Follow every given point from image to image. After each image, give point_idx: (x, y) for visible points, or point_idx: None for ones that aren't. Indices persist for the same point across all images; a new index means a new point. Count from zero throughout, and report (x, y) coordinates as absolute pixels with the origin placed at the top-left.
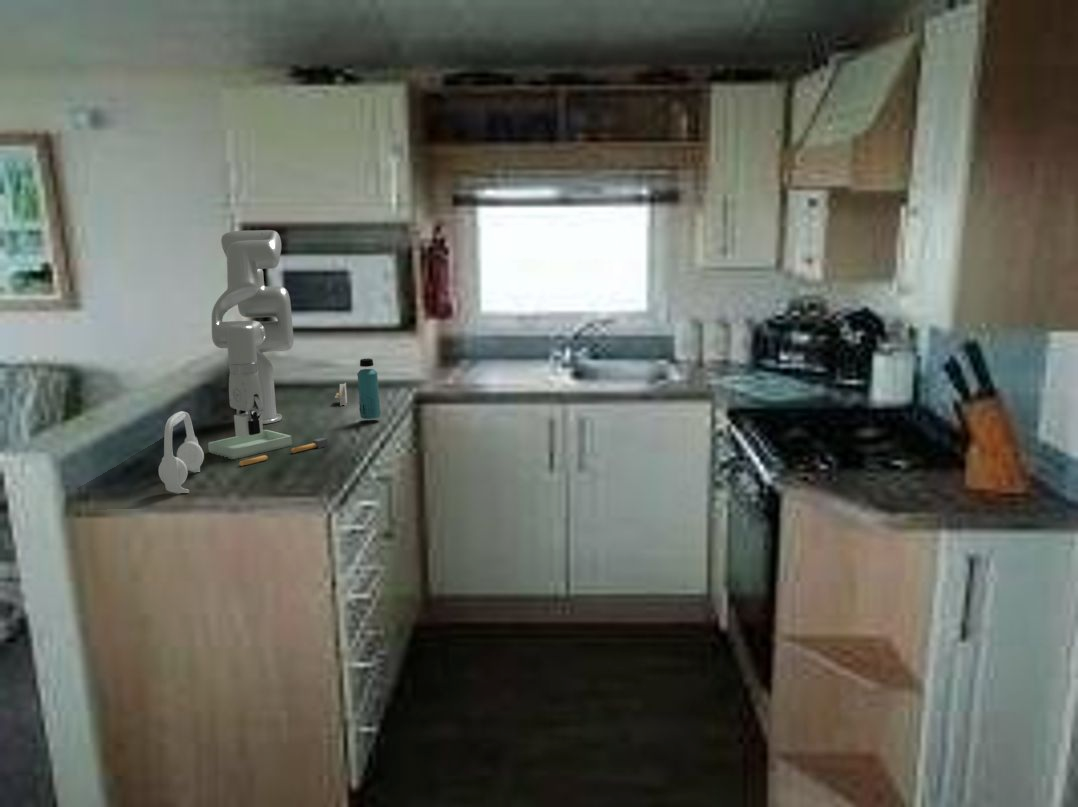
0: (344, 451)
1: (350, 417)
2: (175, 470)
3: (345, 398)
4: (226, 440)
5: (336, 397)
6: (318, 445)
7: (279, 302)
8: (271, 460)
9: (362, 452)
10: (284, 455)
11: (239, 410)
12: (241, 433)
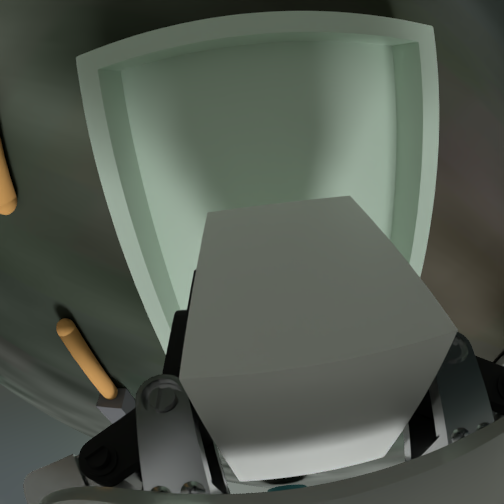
0: (44, 392)
1: (349, 469)
2: None
3: None
4: (418, 152)
5: None
6: (100, 394)
7: None
8: (4, 217)
9: (26, 399)
10: (52, 287)
11: (443, 429)
12: (254, 222)
